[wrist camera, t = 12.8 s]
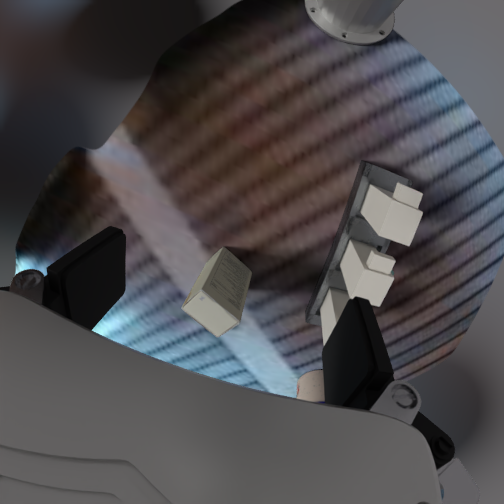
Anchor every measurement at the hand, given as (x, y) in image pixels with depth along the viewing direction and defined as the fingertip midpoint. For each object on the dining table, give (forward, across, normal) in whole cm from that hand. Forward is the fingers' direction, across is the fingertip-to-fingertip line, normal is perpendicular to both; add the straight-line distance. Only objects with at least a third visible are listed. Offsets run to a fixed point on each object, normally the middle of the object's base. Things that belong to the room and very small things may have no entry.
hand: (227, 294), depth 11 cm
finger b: (+26, -14, +6) cm, 30 cm away
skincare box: (+28, +3, +15) cm, 32 cm away
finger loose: (+26, -14, +14) cm, 33 cm away
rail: (+28, -14, +6) cm, 32 cm away
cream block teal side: (+26, -14, -2) cm, 30 cm away
